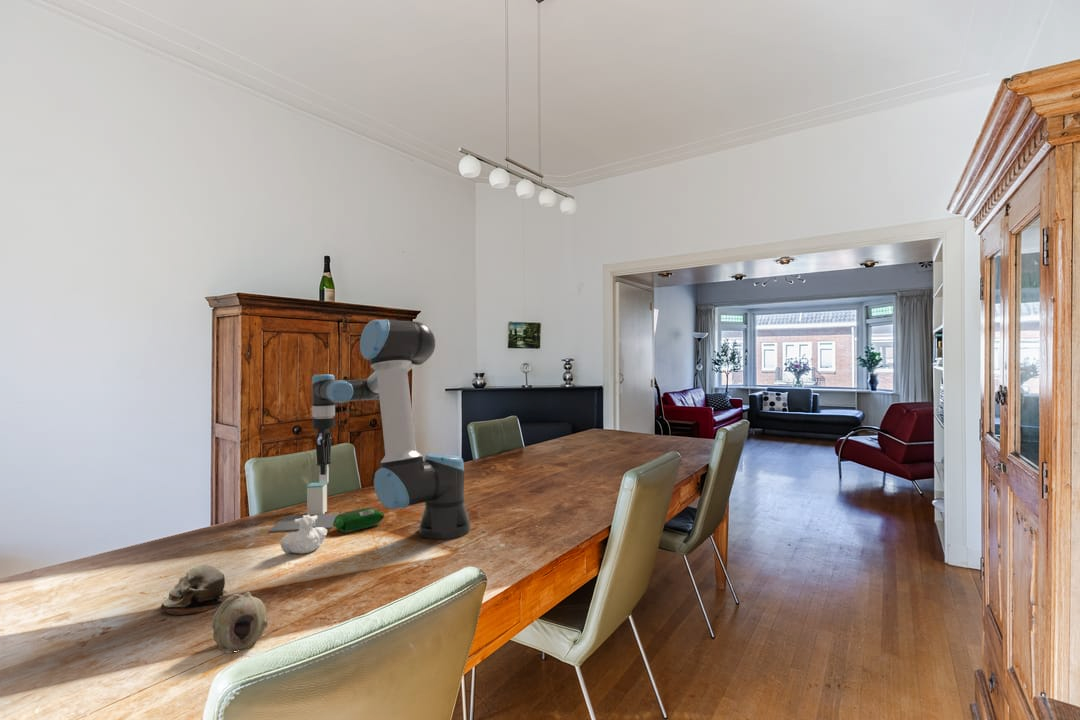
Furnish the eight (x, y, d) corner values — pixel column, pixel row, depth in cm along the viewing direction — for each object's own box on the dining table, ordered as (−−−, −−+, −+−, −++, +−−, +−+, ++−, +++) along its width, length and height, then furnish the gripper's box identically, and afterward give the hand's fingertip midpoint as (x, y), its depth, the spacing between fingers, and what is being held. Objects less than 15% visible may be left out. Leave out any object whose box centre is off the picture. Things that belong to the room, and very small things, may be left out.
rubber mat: (330, 528, 152) (330, 527, 152) (268, 532, 149) (268, 530, 149) (342, 514, 166) (342, 513, 166) (285, 517, 164) (285, 516, 164)
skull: (151, 619, 97) (159, 567, 103) (163, 635, 104) (170, 586, 110) (223, 604, 102) (227, 555, 108) (230, 620, 109) (233, 574, 115)
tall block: (322, 515, 166) (322, 485, 166) (307, 516, 165) (307, 486, 165) (326, 510, 171) (326, 482, 171) (311, 511, 170) (311, 482, 170)
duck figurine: (281, 565, 130) (288, 539, 125) (275, 542, 134) (281, 515, 129) (328, 553, 138) (336, 528, 133) (321, 531, 142) (329, 506, 137)
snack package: (388, 524, 156) (388, 508, 156) (338, 536, 146) (338, 518, 146) (378, 519, 161) (378, 504, 162) (329, 530, 151) (329, 513, 151)
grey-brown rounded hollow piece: (214, 662, 88) (194, 613, 88) (254, 631, 96) (235, 587, 95) (246, 658, 85) (225, 607, 84) (284, 626, 92) (265, 580, 92)
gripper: (318, 415, 182) (318, 479, 182) (306, 419, 169) (307, 488, 169) (339, 415, 183) (339, 478, 183) (329, 419, 170) (330, 487, 170)
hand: (324, 483), depth 176 cm, fingers closed
